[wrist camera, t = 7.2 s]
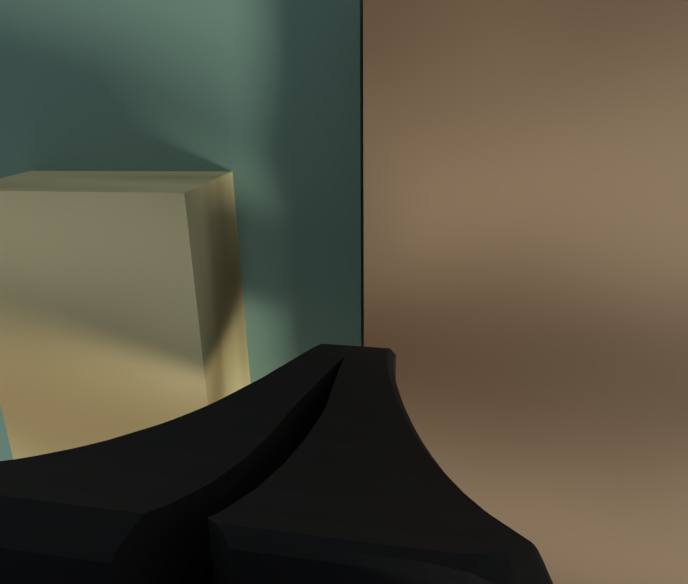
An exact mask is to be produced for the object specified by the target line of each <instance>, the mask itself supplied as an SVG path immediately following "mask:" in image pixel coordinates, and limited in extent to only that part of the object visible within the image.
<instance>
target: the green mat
mask: <svg viewBox="0 0 688 584" xmlns="http://www.w3.org/2000/svg"><path fill="white" fill-rule="evenodd" d="M28 171H232V172H233V183H234V195H235V207H236V218H237V230H238V242H239V253H240V265H241V277H242V288H243V300H244V312H245V323H246V335H247V347H248V359H249V370H250V382H251V383H253V382H255V381H257V380H259V379H260V378H262V377H264V376H266V375H267V374H269V373H271V372H272V371H274V370H276V369H277V368H279V367H281V366H283V365H284V364H286V363H288V362H289V361H291V360H293V359H294V358H296V357H298V356H299V355H301V354H303V353H304V352H306V351H308V350H310V349H312V348H313V347H315V346H317V345H320V344H335V345H349V346H364V187H363V0H0V178H3V177H8V176H12V175H16V174H20V173H24V172H28ZM6 460H13V456H12V451H11V447H10V443H9V439H8V434H7V430H6V426H5V422H4V417H3V413H2V409H1V405H0V461H6Z"/></svg>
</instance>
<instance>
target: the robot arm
mask: <svg viewBox="0 0 688 584" xmlns="http://www.w3.org/2000/svg"><path fill="white" fill-rule="evenodd" d="M0 584H553V582H552V580H551V577H550V575H549V573H548V571H547V568H546V566H545V564H544V561H543V559H542V557H541V555H540V553H539V551H538V549H537V548H536V546H535V545H534V544H533V543H532V542H531V541H529V540H528V539H526V538H525V537H523V536H522V535H520V534H519V533H517V532H516V531H514V530H513V529H511V528H510V527H508V526H507V525H505V524H504V523H502V522H501V521H499V520H498V519H496V518H495V517H493V516H492V515H490V514H489V513H487V512H486V511H485V510H483V509H482V508H481V507H480V506H479V505H478V504H476V503H475V502H474V501H473V500H472V499H470V498H469V497H468V496H467V495H466V494H465V493H463V492H462V490H461V489H460V488H459V487H458V486H457V485H456V484H455V483H454V482H453V481H452V480H451V479H450V478H449V477H448V476H447V475H446V474H445V472H444V471H443V470H442V469H441V467H440V466H439V465H438V463H437V462H436V461H435V459H434V458H433V457H432V455H431V454H430V452H429V451H428V449H427V448H426V446H425V445H424V443H423V442H422V440H421V439H420V437H419V435H418V433H417V432H416V430H415V428H414V426H413V424H412V422H411V420H410V418H409V416H408V414H407V412H406V409H405V407H404V404H403V402H402V399H401V396H400V393H399V390H398V387H397V384H396V355H395V353H394V352H393V351H392V350H391V349H390V348H378V347H364V346H349V345H335V344H320V345H317V346H315V347H313V348H312V349H310V350H308V351H306V352H304V353H303V354H301V355H299V356H298V357H296V358H294V359H293V360H291V361H289V362H288V363H286V364H284V365H283V366H281V367H279V368H277V369H276V370H274V371H272V372H271V373H269V374H267V375H266V376H264V377H262V378H260V379H259V380H257V381H255V382H253V383H251V384H249V385H247V386H245V387H243V388H241V389H239V390H238V391H236V392H234V393H232V394H230V395H228V396H226V397H224V398H222V399H220V400H218V401H216V402H214V403H212V404H209V405H207V406H205V407H203V408H200V409H198V410H196V411H193V412H191V413H188V414H186V415H183V416H180V417H178V418H175V419H173V420H170V421H168V422H165V423H162V424H159V425H156V426H153V427H149V428H146V429H143V430H139V431H136V432H133V433H129V434H126V435H123V436H119V437H116V438H113V439H109V440H106V441H102V442H98V443H94V444H90V445H85V446H81V447H77V448H72V449H68V450H63V451H58V452H53V453H48V454H43V455H37V456H32V457H26V458H20V459H13V460H6V461H0Z"/></svg>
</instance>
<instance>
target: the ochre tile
mask: <svg viewBox="0 0 688 584" xmlns="http://www.w3.org/2000/svg"><path fill="white" fill-rule="evenodd" d="M249 384H251V382H250V370H249V359H248V347H247V335H246V323H245V312H244V300H243V288H242V277H241V265H240V253H239V242H238V230H237V218H236V207H235V195H234V183H233V172H232V171H28V172H24V173H20V174H16V175H12V176H8V177H3V178H0V405H1V409H2V413H3V417H4V422H5V426H6V430H7V434H8V439H9V443H10V447H11V451H12V456H13V459H20V458H26V457H32V456H37V455H43V454H48V453H53V452H58V451H63V450H68V449H72V448H77V447H81V446H85V445H90V444H94V443H98V442H102V441H106V440H109V439H113V438H116V437H119V436H123V435H126V434H129V433H133V432H136V431H139V430H143V429H146V428H149V427H153V426H156V425H159V424H162V423H165V422H168V421H170V420H173V419H175V418H178V417H180V416H183V415H186V414H188V413H191V412H193V411H196V410H198V409H200V408H203V407H205V406H207V405H209V404H212V403H214V402H216V401H218V400H220V399H222V398H224V397H226V396H228V395H230V394H232V393H234V392H236V391H238V390H239V389H241V388H243V387H245V386H247V385H249Z"/></svg>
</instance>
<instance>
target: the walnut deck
mask: <svg viewBox="0 0 688 584" xmlns="http://www.w3.org/2000/svg"><path fill="white" fill-rule="evenodd" d="M363 187H364V347H378V348H390V349H391V350H392V351H393V352H394V353H395V355H396V384H397V387H398V390H399V393H400V396H401V399H402V402H403V404H404V407H405V409H406V412H407V414H408V416H409V418H410V420H411V422H412V424H413V426H414V428H415V430H416V432H417V433H418V435H419V437H420V439H421V440H422V442H423V443H424V445H425V446H426V448H427V449H428V451H429V452H430V454H431V455H432V457H433V458H434V459H435V461H436V462H437V463H438V465H439V466H440V467H441V469H442V470H443V471H444V472H445V474H446V475H447V476H448V477H449V478H450V479H451V480H452V481H453V482H454V483H455V484H456V485H457V486H458V487H459V488H460V489H461V490H462V492H463V493H465V494H466V495H467V496H468V497H469V498H470V499H472V500H473V501H474V502H475V503H476V504H478V505H479V506H480V507H481V508H482V509H483V510H485V511H486V512H487V513H489V514H490V515H492V516H493V517H495V518H496V519H498V520H499V521H501V522H502V523H504V524H505V525H507V526H508V527H510V528H511V529H513V530H514V531H516V532H517V533H519V534H520V535H522V536H523V537H525V538H526V539H528V540H529V541H531V542H532V543H533V544H534V545H535V546H536V548H537V549H538V551H539V553H540V555H541V557H542V559H543V561H544V564H545V566H546V568H547V571H548V573H549V575H550V577H551V580H552V582H553V584H688V0H363Z"/></svg>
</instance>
